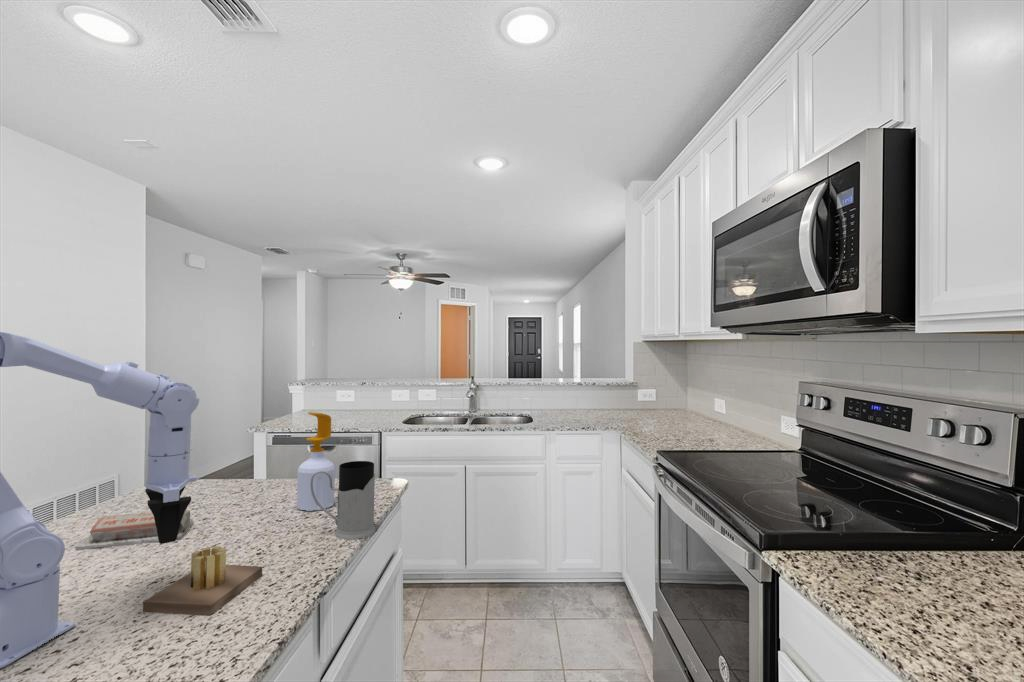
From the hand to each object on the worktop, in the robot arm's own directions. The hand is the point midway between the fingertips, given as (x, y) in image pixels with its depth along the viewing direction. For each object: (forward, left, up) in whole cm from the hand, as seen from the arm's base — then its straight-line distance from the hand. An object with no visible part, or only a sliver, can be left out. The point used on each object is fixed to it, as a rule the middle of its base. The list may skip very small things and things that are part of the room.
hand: (165, 534), depth 78 cm
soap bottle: (+45, -4, -10) cm, 46 cm away
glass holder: (+28, -18, -10) cm, 35 cm away
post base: (+1, -7, -9) cm, 12 cm away
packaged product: (+21, +24, -10) cm, 34 cm away
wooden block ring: (+1, -7, -8) cm, 11 cm away
